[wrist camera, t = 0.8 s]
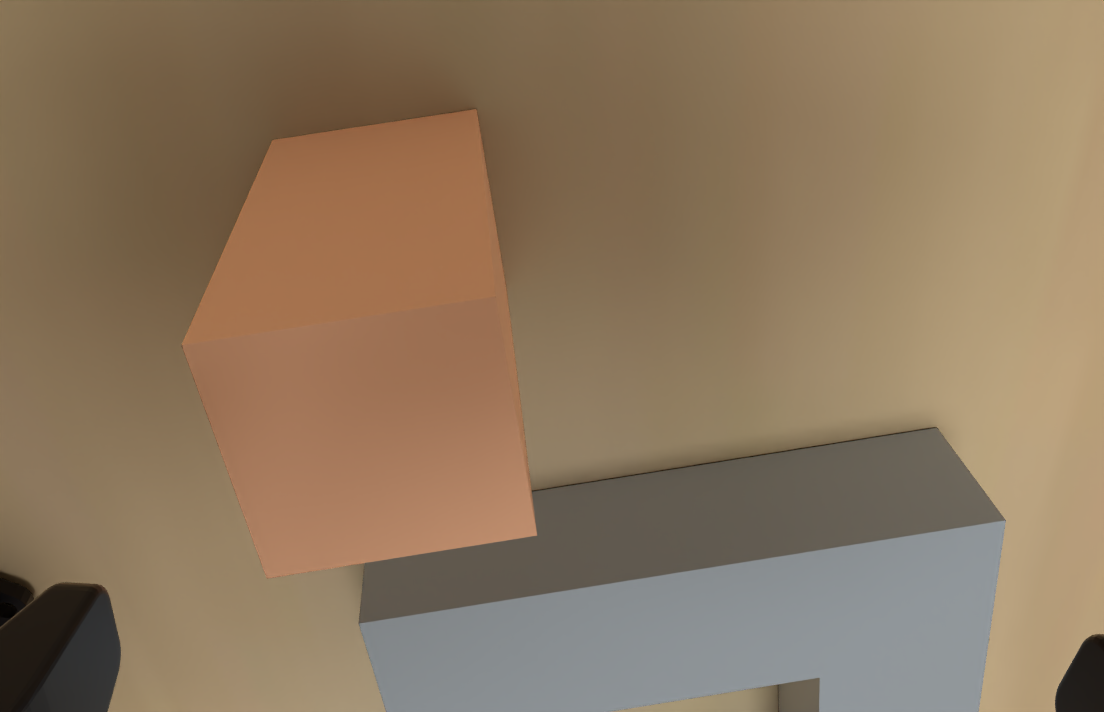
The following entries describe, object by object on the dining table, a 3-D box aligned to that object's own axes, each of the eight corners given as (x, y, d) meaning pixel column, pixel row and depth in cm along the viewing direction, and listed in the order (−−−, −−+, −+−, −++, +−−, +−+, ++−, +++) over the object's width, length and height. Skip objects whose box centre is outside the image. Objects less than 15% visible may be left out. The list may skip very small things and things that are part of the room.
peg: (506, 290, 22) (537, 535, 15) (321, 318, 22) (266, 578, 15) (476, 108, 20) (495, 295, 13) (272, 139, 20) (180, 344, 13)
